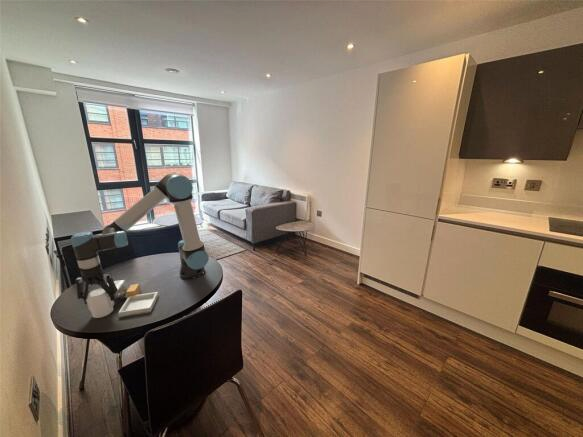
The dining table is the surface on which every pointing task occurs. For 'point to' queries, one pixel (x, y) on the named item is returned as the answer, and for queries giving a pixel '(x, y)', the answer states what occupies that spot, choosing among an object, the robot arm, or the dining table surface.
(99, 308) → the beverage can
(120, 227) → the robot arm
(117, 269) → the dining table surface
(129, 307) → the tray
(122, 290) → the white hollow block
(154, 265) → the dining table surface
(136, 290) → the block
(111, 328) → the dining table surface
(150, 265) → the dining table surface
